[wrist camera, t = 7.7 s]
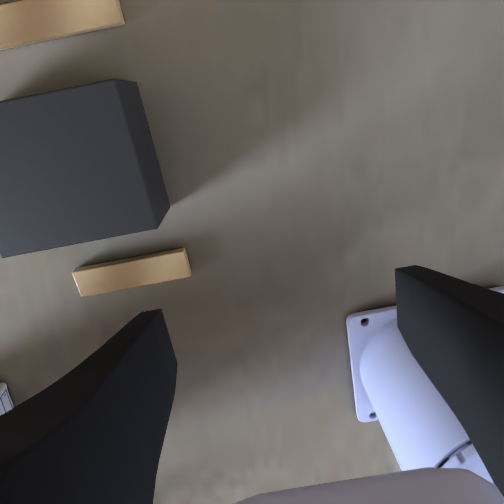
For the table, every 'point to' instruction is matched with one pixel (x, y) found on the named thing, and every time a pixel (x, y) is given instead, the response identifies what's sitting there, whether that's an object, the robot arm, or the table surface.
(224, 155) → the table surface
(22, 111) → the black block
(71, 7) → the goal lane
